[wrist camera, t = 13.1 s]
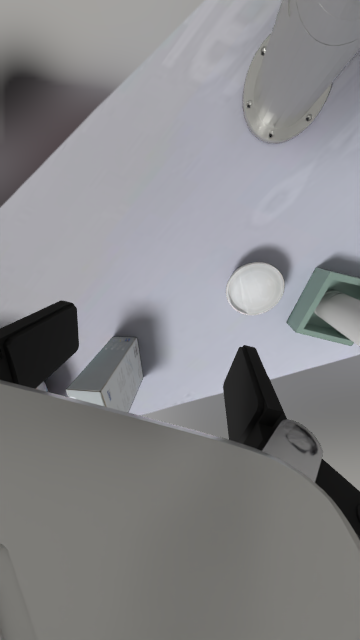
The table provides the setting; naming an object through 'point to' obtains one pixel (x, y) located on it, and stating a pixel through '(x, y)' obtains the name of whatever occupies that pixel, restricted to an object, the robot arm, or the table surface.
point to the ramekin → (255, 288)
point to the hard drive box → (111, 376)
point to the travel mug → (341, 313)
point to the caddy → (315, 289)
